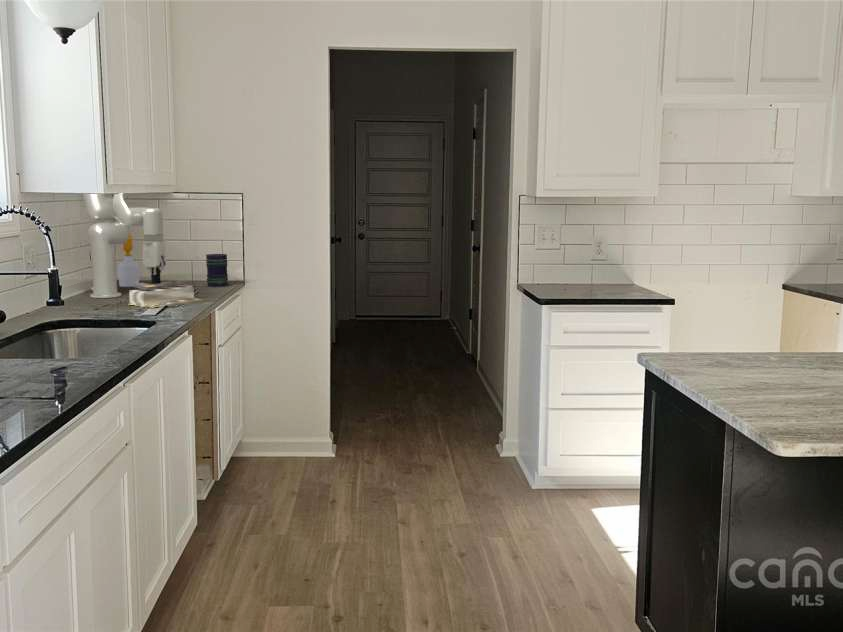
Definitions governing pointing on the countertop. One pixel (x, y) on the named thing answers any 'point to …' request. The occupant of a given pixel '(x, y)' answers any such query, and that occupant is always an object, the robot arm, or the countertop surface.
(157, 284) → the rocker middle
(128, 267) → the soap bottle
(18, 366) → the countertop surface
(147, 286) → the rocker
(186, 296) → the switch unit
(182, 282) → the rocker
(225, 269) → the storage jar
